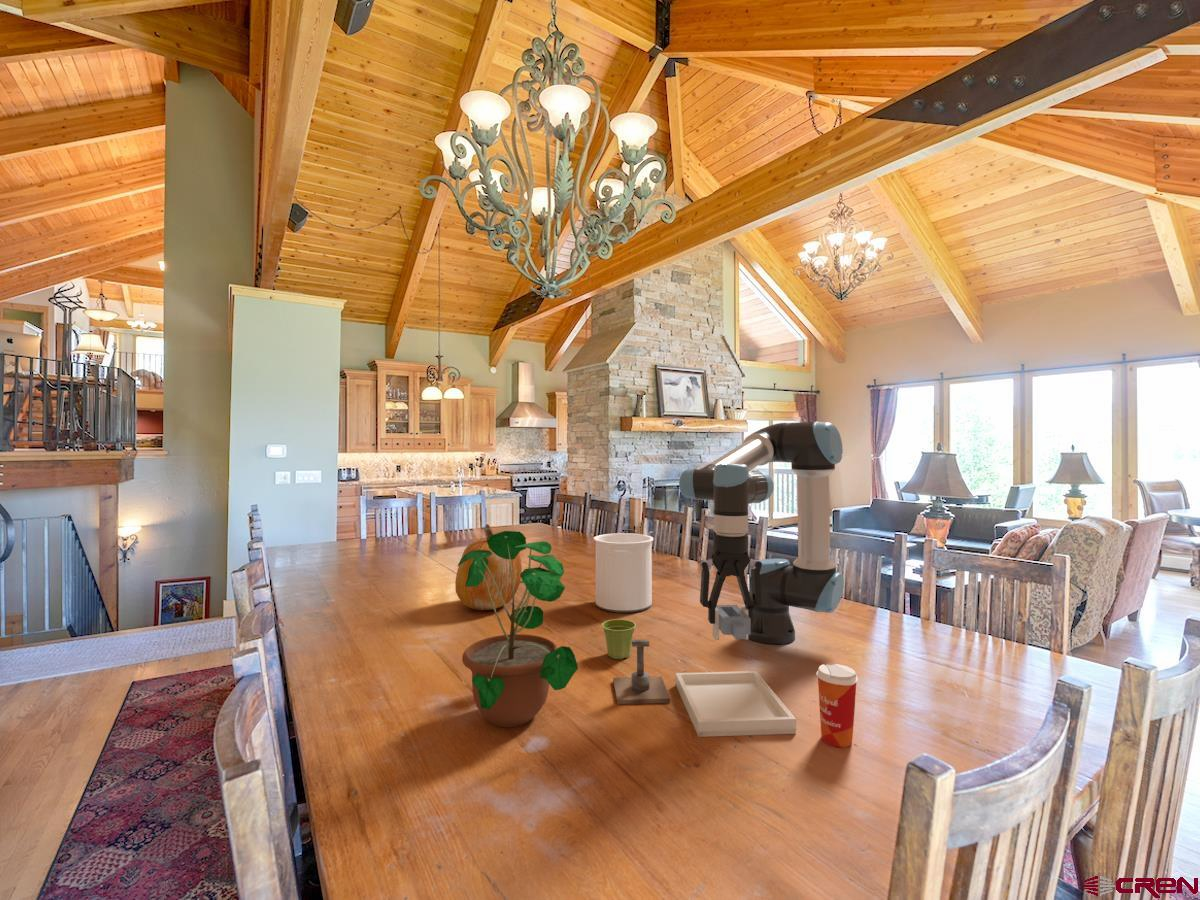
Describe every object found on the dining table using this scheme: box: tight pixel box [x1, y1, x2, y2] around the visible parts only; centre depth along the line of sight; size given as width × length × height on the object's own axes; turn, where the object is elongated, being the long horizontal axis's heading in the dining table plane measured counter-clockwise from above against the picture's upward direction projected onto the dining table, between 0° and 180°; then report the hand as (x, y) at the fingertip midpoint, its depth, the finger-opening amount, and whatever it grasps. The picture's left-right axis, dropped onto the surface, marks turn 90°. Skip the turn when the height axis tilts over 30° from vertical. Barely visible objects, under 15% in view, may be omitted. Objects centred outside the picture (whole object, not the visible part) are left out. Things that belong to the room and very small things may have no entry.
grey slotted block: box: [716, 604, 751, 640], centre depth 124 cm, size 13×6×3 cm, turn 3°
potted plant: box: [457, 530, 579, 728], centre depth 123 cm, size 31×29×40 cm
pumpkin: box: [455, 524, 523, 611], centre depth 204 cm, size 26×23×30 cm
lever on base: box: [612, 638, 671, 705], centre depth 134 cm, size 12×12×12 cm
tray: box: [675, 670, 797, 738], centre depth 126 cm, size 20×24×3 cm
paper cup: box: [815, 663, 859, 749], centre depth 112 cm, size 8×8×14 cm
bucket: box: [593, 532, 654, 614], centre depth 205 cm, size 26×22×24 cm
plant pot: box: [601, 618, 637, 660], centre depth 157 cm, size 9×9×9 cm
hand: (730, 637), depth 126 cm, fingers closed on grey slotted block, 6 cm apart
